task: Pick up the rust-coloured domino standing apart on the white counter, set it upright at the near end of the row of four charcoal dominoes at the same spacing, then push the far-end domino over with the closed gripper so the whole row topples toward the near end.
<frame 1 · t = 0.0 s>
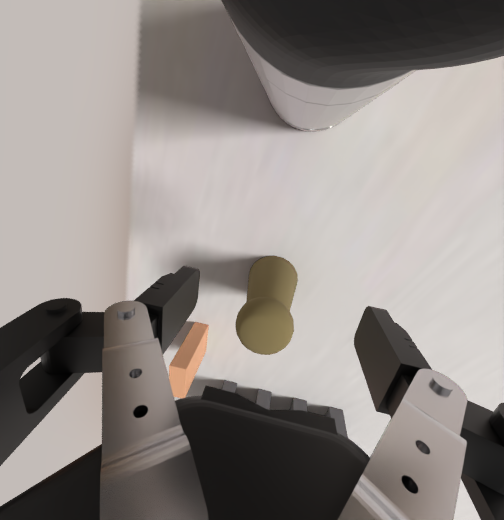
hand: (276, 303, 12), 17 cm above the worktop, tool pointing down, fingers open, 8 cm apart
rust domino: (200, 337, 36), on the worktop
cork: (273, 277, 31), on the worktop
domino 3: (296, 409, 39), on the worktop
domino 1: (229, 392, 40), on the worktop
domino 2: (262, 400, 40), on the worktop
domino 4: (331, 418, 39), on the worktop
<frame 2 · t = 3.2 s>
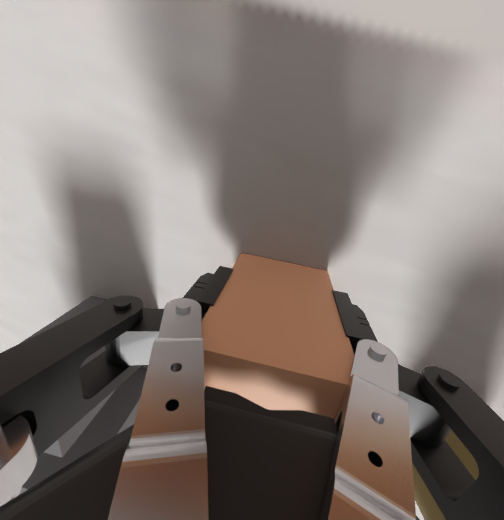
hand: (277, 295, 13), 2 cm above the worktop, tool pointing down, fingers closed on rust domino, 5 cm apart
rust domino: (280, 277, 15), on the worktop, touching gripper
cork: (427, 421, 17), on the worktop
domino 1: (125, 316, 18), on the worktop
domino 2: (127, 373, 20), on the worktop
when the fingers open (3 cm above the worktop, at t = 8.7 s): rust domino stays where it is, on the worktop.
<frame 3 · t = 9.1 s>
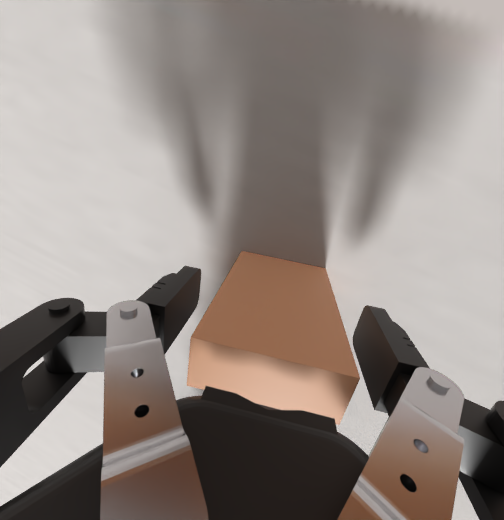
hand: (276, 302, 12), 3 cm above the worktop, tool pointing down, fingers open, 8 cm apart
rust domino: (279, 274, 15), on the worktop
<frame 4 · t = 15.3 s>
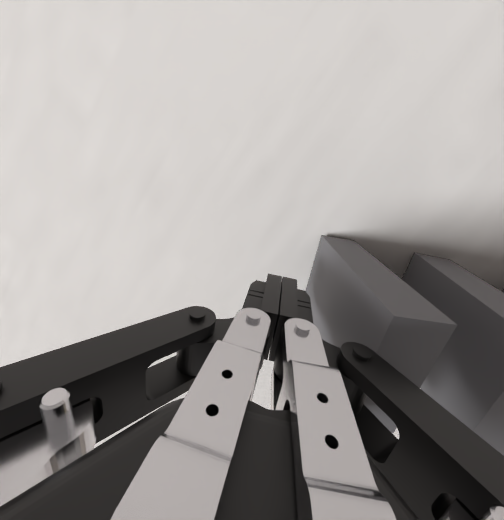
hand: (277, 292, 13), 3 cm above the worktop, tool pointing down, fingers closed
domino 3: (414, 293, 15), on the worktop
domino 4: (326, 275, 16), on the worktop, tilted 9°
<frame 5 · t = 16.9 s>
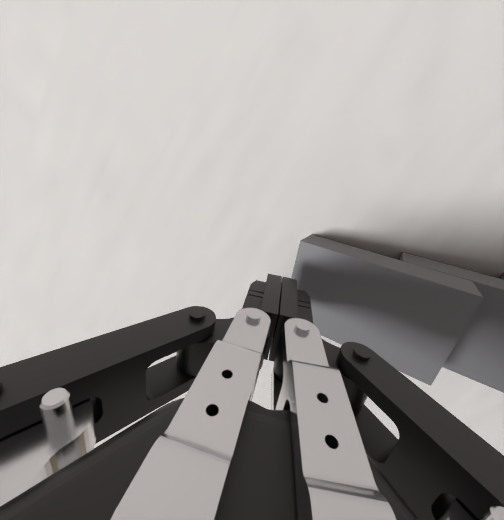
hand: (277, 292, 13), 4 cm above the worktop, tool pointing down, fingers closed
domino 3: (386, 294, 15), point 1 cm above the worktop, tilted 69°, touching domino 2, domino 4
domino 4: (296, 276, 15), point 1 cm above the worktop, tilted 68°, touching domino 3
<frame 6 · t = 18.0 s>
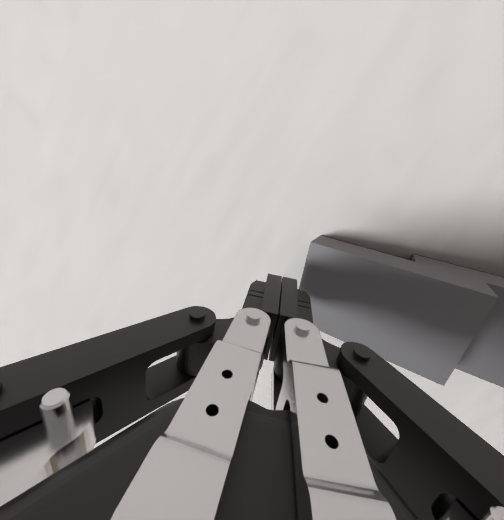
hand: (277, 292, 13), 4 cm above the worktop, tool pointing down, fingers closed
domino 3: (398, 296, 15), point 1 cm above the worktop, tilted 71°, touching domino 2
domino 4: (305, 277, 15), point 1 cm above the worktop, tilted 69°
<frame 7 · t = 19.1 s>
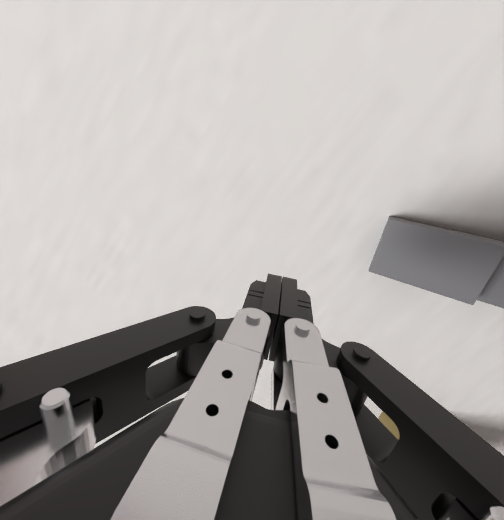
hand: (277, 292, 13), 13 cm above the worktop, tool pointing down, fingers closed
domino 3: (441, 257, 22), point 1 cm above the worktop, tilted 71°, touching domino 4
domino 4: (378, 243, 23), point 1 cm above the worktop, tilted 69°, touching domino 3
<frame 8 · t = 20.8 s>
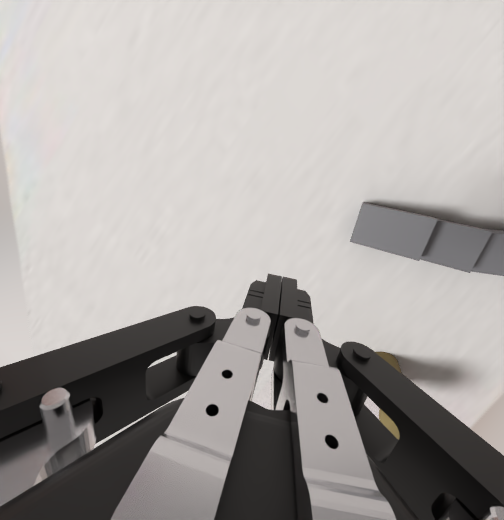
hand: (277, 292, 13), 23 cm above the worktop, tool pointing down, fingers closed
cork: (378, 365, 41), on the worktop
domino 3: (402, 232, 32), point 1 cm above the worktop, tilted 72°, touching domino 2, domino 4
domino 2: (459, 248, 31), point 1 cm above the worktop, tilted 71°, touching domino 1, domino 3
domino 4: (356, 222, 32), point 1 cm above the worktop, tilted 70°, touching domino 3
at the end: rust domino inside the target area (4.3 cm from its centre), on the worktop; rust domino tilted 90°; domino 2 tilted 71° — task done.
